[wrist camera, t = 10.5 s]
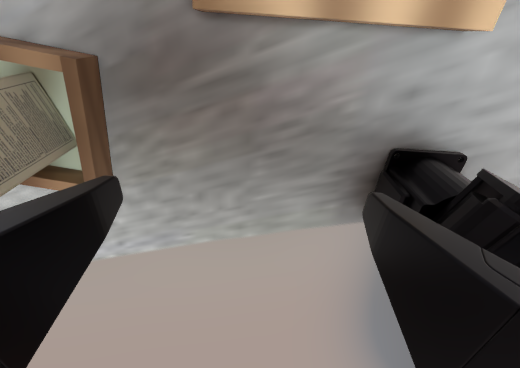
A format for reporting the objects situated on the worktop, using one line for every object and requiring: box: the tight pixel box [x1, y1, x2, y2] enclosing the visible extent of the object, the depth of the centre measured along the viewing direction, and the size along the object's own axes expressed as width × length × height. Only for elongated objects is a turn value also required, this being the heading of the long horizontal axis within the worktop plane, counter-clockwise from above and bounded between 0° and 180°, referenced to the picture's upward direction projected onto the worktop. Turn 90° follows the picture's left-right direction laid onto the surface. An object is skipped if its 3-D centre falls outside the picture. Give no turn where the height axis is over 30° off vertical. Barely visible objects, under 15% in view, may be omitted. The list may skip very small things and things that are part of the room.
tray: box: [0, 37, 113, 191], centre depth 20 cm, size 11×11×2 cm
